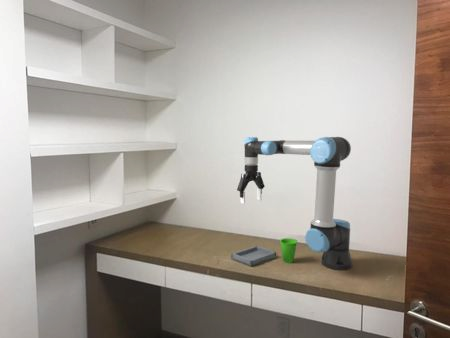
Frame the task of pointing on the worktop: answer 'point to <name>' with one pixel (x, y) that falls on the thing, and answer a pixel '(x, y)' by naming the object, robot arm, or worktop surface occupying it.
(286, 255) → the cup
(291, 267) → the worktop surface
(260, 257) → the grey tray
